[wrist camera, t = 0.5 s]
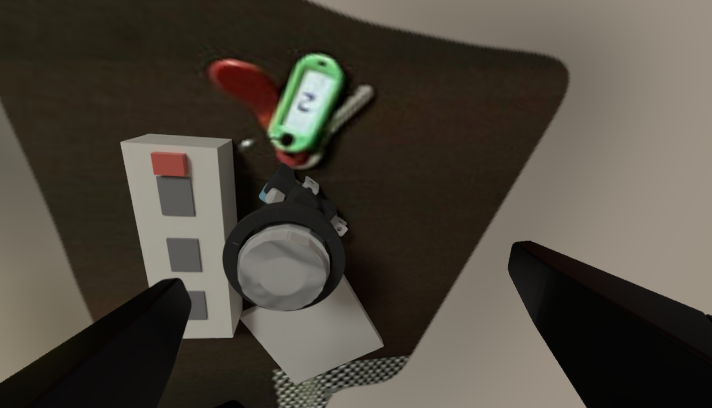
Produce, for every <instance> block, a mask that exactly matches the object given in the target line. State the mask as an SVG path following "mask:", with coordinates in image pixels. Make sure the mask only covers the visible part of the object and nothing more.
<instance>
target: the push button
mask: <svg viewBox="0 0 712 408" xmlns="http://www.w3.org/2000/svg"><path fill="white" fill-rule="evenodd" d="M310 181H311V182H313V183H314V184H312V183H311V182H310ZM318 190H319V185H318V184H317V183H316V182H315V181H313V180H312V179H311V178H309V177H307V176H306V178H305V183H304V184H303V183H302V182H301V181H299V180H298V179H296V178H295V174H294V171H293V170H292V169H291V168H290V167H288V166H287V165H286V164H284V163H282V164H281V165H280V166H279V168H278V169H277V170H276V172H275V173H274V174H273V176H272V177H271V178H270V180H269V181H268V182H267V184H266V185H265V186H264V188H263V190H262V192H261V193H260V195H259V197H260V199H261V200H263V201H264V202H266V203H267V204H266V205H264V206H263V207H262V208H261V209H259V210H256V211H254V212H252V213H250V214H249V215H247V216H246V217H244V218H243V219H242V220H241V221H240V222H239V223H238V224H237V225H236V226H235V227H234V228H233V230H232V231H231V233H230V235H229V236H228V238H227V240H226V242H225V245H224V249H223V255H222V262H223V269H224V272H225V275H226V277H227V279H228V281H229V283H230V284H231V286H232V287H233V288H234V290H235V291H236V292H237V293H238V294H239V295H240V296H242V297H243V298H244V299H246V300H247V301H249V302H250V303H252V304H254V305H257V306H259V307H262V308H265V309H269V310H274V311H296V310H301V309H305V308H308V307H311V306H313V305H316V304H318V303H319V302H321V301H323V300H324V299H325V298H327V297H328V296H329V295H330V294H331V293H332V292H333V291H334V290H335V289H336V287H337V286H338V284H339V283H340V281H341V279H342V276H343V274H344V269H345V251H344V246H343V243H342V240H341V238H340V236H343V234H344V233H345V232H346V231H347V230H348V229H347V227H345V226H346V225H347V223H346V222H345V221H344V220H342V219H341V218H339V217H338V216H337V210H336V206H335V205H334V204H333V203H332V202H330V201H329V200H326V199H324V198H323V197H322V196H320V195H319V194H317V193H318ZM338 221H340V222H341V223H342V224H341V223H340V222H338ZM254 229H256V230H255V232H254V234H253V236H252V237H251V238H250V239H249V240H247V242H246V243H245V238H246V236H247V235H248V234H249V233H250V232H251V231H253V230H254ZM337 229H339V230H341V231H337ZM339 235H340V236H339ZM324 240H325V241H326V242H327V244H328V246H329V248H330V251H331V254H330V257H329V256H328V254H327V252H326V250H325V244H324Z"/></svg>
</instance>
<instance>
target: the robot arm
mask: <svg viewBox="0 0 712 408" xmlns="http://www.w3.org/2000/svg"><path fill="white" fill-rule="evenodd" d="M508 271H509V275H510V277H511V279H512V281H513V283H514V285H515V287H516V289H517V291H518V293H519V295H520V297H521V299H522V301H523V303H524V305H525V307H526V309H527V311H528V313H529V315H530V317H531V319H532V321H533V323H534V325H535V326H536V328H537V330H538V331H539V333H540V334H541V336H542V338H543V339H544V340H545V342H546V344H547V346H548V347H549V349H550V350H551V352H552V353H553V355H554V356H555V358H556V360H557V361H558V363H559V365H560V366H561V368H562V369H563V371H564V373H565V374H566V376H567V377H568V379H569V380H570V382H571V384H572V385H573V387H574V388H575V390H576V392H577V393H578V395H579V396H580V398H581V400H582V401H583V403H584V404H585V406H586V407H587V408H712V315H709V314H707V315H705V314H704V313H703V312H701V311H699V310H696V309H694V308H692V307H689V306H687V305H685V304H682V303H680V302H677V301H674V300H672V299H670V298H668V297H665V296H663V295H660V294H658V293H655V292H653V291H650V290H648V289H645V288H643V287H641V286H639V285H636V284H634V283H631V282H629V281H626V280H624V279H621V278H619V277H616V276H614V275H612V274H609V273H607V272H605V271H602V270H600V269H597V268H595V267H593V266H590V265H588V264H585V263H583V262H580V261H578V260H576V259H573V258H571V257H568V256H566V255H564V254H561V253H559V252H556V251H554V250H551V249H549V248H546V247H544V246H542V245H539V244H537V243H534V242H532V241H520V242H515V243H514V244H513V245H512V248H511V253H510V258H509V264H508ZM191 308H192V302H191V298H190V296H189V294H188V292H187V289H186V287H185V285H184V283H183V281H182V280H181V279H180V278H168V279H163V280H161V281H159V282H157V283H156V284H154V285H153V286H151V287H150V288H148V289H146V290H145V291H143V292H142V293H140V294H139V295H137V296H136V297H134V298H132V299H131V300H129V301H128V302H126V303H125V304H123V305H121V306H120V307H118V308H117V309H115V310H114V311H112V312H111V313H109V314H107V315H106V316H104V317H103V318H101V319H100V320H98V321H96V322H95V323H93V324H92V325H90V326H89V327H87V328H86V329H84V330H83V331H81V332H79V333H78V334H76V335H75V336H73V337H71V338H70V339H68V340H67V341H66V342H64V343H62V344H61V345H59V346H57V347H56V348H54V349H53V350H51V351H50V352H48V353H46V354H45V355H43V356H42V357H40V358H39V359H37V360H36V361H34V362H33V363H31V364H29V365H28V366H26V367H25V368H23V369H21V370H20V371H18V372H17V373H15V374H14V375H12V376H11V377H9V378H7V379H6V380H4V381H3V382H1V383H0V408H157V406H158V404H159V402H160V399H161V397H162V394H163V392H164V389H165V387H166V385H167V382H168V380H169V377H170V375H171V372H172V370H173V367H174V364H175V361H176V358H177V355H178V352H179V349H180V345H181V342H182V339H183V335H184V332H185V329H186V325H187V322H188V319H189V315H190V312H191ZM215 408H241V407H240V406H239V405H238V404H237V403H236V402H234V401H229V402H227V403H224V404H222V405H220V406H218V407H215Z"/></svg>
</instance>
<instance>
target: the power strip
mask: <svg viewBox="0 0 712 408" xmlns="http://www.w3.org/2000/svg"><path fill="white" fill-rule="evenodd" d="M120 143H121V148H122V153H123V158H124V163H125V168H126V173H127V178H128V183H129V188H130V193H131V198H132V203H133V208H134V213H135V218H136V223H137V228H138V233H139V238H140V243H141V248H142V253H143V258H144V263H145V268H146V273H147V278H148V283H149V288H150V287H151V286H153V285H154V284H156V283H157V282H159V281H161V280H163V279H168V278H180V279H181V280H182V281H183V283H184V285H185V287H186V289H187V292H188V294H189V296H190V298H191V302H192V308H191V312H190V315H189V319H188V322H187V325H186V329H185V332H184V335H183V338H233V335H234V333H235V330H236V327H237V324H238V321H239V319H240V316H241V313H242V310H243V304H242V296H240V295H239V294H238V293H237V292H236V291H235V290H234V288H233V287H232V286H231V284H230V283H229V281H228V279H227V277H226V275H225V272H224V269H223V262H222V255H223V249H224V245H225V242H226V240H227V238H228V236H229V235H230V233H231V231H232V230H233V228H234V227H235V226H236V225H237V210H236V195H235V179H234V164H233V148H232V139H219V138H204V137H189V136H175V135H160V134H148V135H144V136H141V137H137V138H133V139H130V140H126V141H123V142H120Z"/></svg>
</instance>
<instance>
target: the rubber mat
mask: <svg viewBox="0 0 712 408" xmlns="http://www.w3.org/2000/svg"><path fill="white" fill-rule="evenodd" d="M240 319H241V320H242V322H243V323H244V324H245V325H246V326H247V328H248V329H249V330H250V331H251V332H252V334H253V335H254V336H255V337H256V338H257V340H258V341H259V342H260V343H261V344H262V346H263V347H264V348H265V349H266V350H267V352H268V353H269V354H270V355H271V356H272V358H273V359H274V360H275V361H276V362H277V364H278V365H279V366H280V367H281V368H282V370H283V371H284V372H285V373H286V374H287V375H288V377H289V378H290V379H291V380H292V381H293V383H294V384H295V385H296V384H298V383H301V382H303V381H305V380H308V379H310V378H312V377H315V376H317V375H319V374H321V373H324V372H326V371H328V370H331V369H333V368H335V367H338V366H340V365H342V364H345V363H347V362H349V361H351V360H354V359H356V358H358V357H361V356H363V355H365V354H368V353H370V352H372V351H374V350H377V349H379V348H381V347H384V345H383V341H382V338H381V336H380V335H379V333H378V331H377V330H376V328H375V326H374V325H373V323H372V321H371V320H370V318H369V316H368V315H367V313H366V311H365V309H364V308H363V306H362V304H361V303H360V301H359V299H358V298H357V296H356V294H355V293H354V291H353V289H352V288H351V286H350V284H349V282H348V281H347V279H346V277H345V276H344V274H343V276H342V279H341V281H340V283H339V284H338V286H337V287H336V289H335V290H334V291H333V292H332V293H331V294H330V295H329V296H328V297H327V298H325V299H324V300H323V301H321V302H319V303H318V304H316V305H313V306H311V307H308V308H305V309H301V310H296V311H274V310H269V309H265V308H262V307H259V306H257V305H256V306H253V307H251V308H249V309H247V310H245V311H243V312H242V314H241V317H240Z"/></svg>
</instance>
